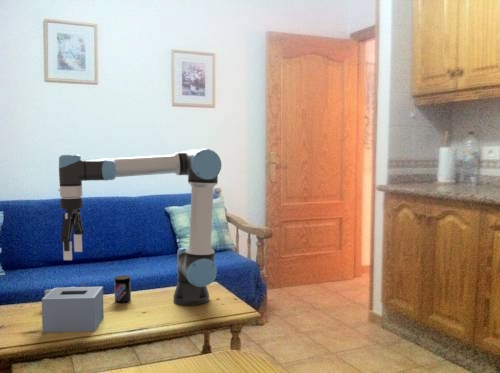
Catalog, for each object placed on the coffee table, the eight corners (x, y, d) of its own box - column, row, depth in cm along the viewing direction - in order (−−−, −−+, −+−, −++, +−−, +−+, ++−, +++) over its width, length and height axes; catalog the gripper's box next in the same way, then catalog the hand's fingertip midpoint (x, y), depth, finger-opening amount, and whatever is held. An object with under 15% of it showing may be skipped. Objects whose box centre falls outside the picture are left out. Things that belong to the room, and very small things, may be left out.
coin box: (103, 317, 182) (102, 286, 181) (95, 330, 168) (94, 297, 167) (55, 318, 180) (54, 287, 179) (42, 332, 166) (41, 299, 165)
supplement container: (112, 300, 202) (112, 276, 201) (127, 298, 206) (127, 274, 205) (117, 305, 196) (117, 280, 195) (133, 302, 200) (132, 277, 199)
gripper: (70, 194, 182) (72, 248, 184) (49, 201, 158) (51, 264, 159) (90, 194, 183) (92, 248, 185) (72, 201, 158) (74, 263, 160)
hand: (73, 255), depth 172 cm, fingers open, 13 cm apart
